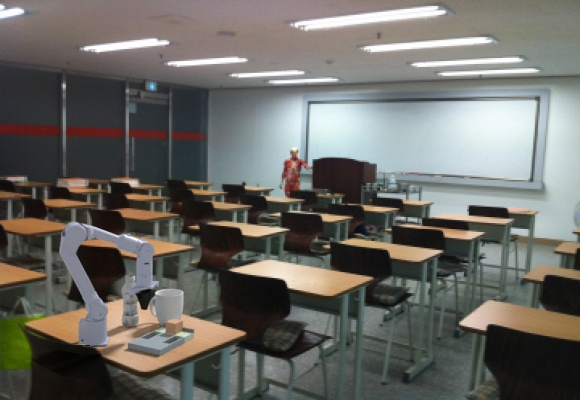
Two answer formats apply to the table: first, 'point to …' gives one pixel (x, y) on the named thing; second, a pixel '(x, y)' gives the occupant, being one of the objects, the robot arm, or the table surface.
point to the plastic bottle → (129, 303)
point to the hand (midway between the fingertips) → (144, 309)
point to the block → (174, 326)
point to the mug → (167, 305)
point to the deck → (161, 340)
